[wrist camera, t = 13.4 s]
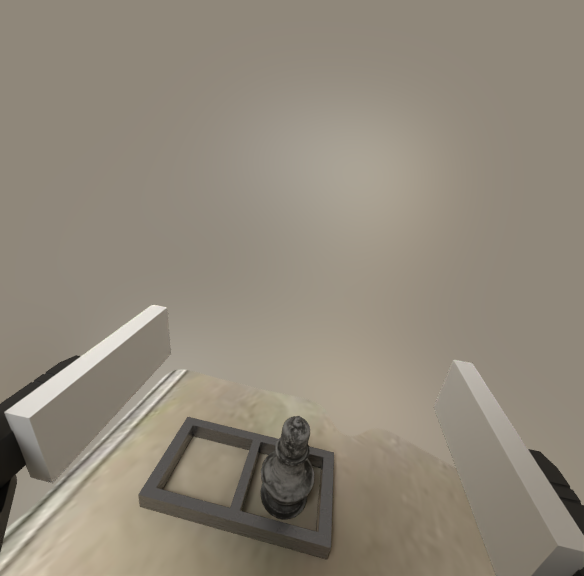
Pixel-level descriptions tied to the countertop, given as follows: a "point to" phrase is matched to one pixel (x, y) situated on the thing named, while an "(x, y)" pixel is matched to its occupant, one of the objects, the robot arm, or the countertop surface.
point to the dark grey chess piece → (288, 471)
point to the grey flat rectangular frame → (241, 491)
